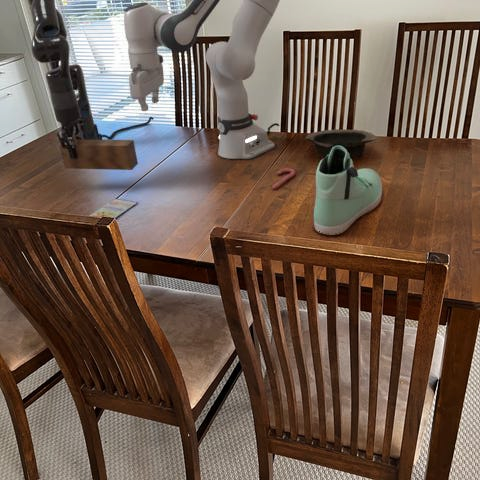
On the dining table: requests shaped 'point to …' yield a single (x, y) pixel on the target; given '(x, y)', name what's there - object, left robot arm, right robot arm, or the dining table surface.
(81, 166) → the bar
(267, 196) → the dining table surface
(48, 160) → the dining table surface
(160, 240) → the dining table surface
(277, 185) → the candy cane
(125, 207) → the baking ingredient package
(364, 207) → the sneaker
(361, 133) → the stone bowl
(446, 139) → the dining table surface
